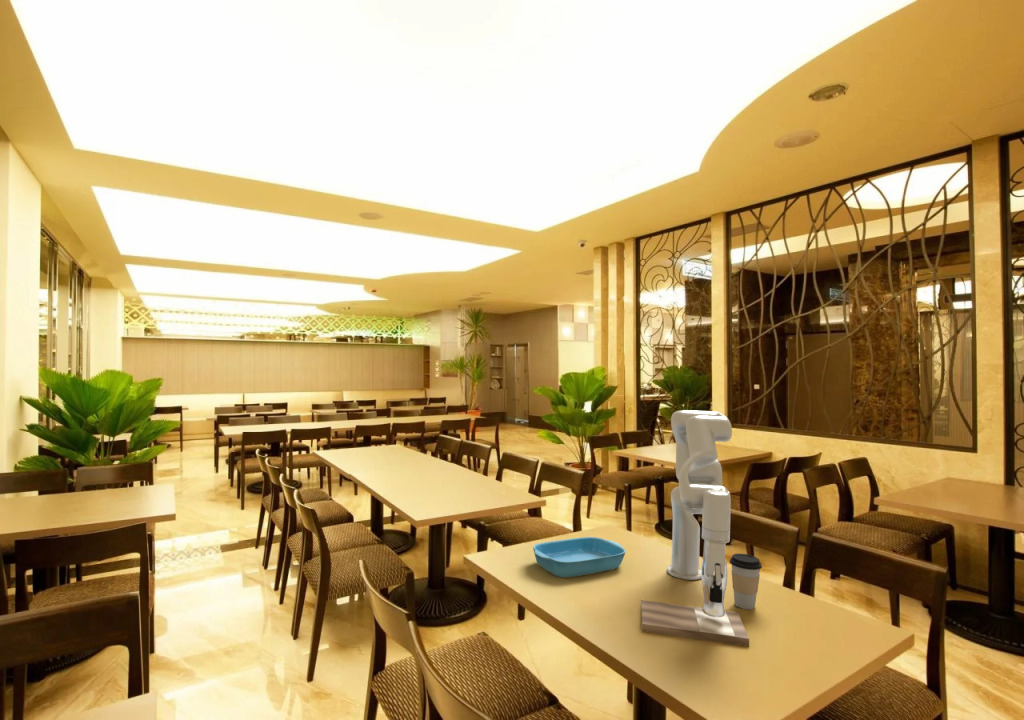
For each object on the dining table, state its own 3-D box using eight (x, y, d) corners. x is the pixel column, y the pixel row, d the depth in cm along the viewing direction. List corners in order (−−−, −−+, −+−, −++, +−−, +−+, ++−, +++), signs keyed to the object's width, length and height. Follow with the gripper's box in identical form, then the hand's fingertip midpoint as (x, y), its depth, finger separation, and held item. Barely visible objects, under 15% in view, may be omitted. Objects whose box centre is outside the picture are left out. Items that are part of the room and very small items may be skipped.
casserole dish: (598, 550, 215) (599, 532, 215) (637, 569, 195) (637, 550, 195) (520, 563, 197) (521, 544, 197) (554, 586, 177) (555, 564, 177)
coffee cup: (760, 602, 169) (761, 555, 170) (761, 614, 161) (762, 565, 161) (729, 596, 173) (730, 550, 173) (727, 607, 165) (728, 559, 165)
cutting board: (641, 606, 163) (641, 599, 163) (737, 619, 157) (737, 612, 157) (641, 630, 148) (642, 623, 148) (749, 646, 142) (749, 638, 142)
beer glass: (728, 619, 147) (730, 565, 148) (702, 616, 149) (703, 563, 149) (723, 608, 154) (725, 557, 154) (698, 605, 156) (700, 554, 156)
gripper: (698, 524, 161) (696, 583, 161) (705, 542, 144) (703, 608, 144) (724, 526, 159) (722, 586, 159) (735, 545, 142) (733, 612, 142)
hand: (713, 596), depth 151 cm, fingers closed on beer glass, 6 cm apart
